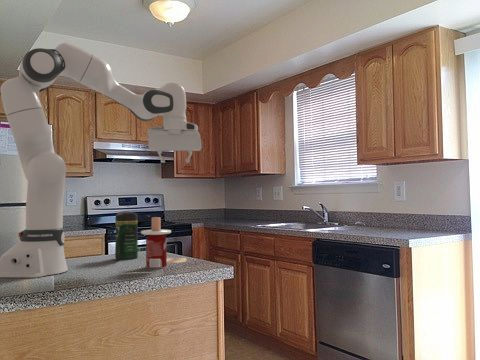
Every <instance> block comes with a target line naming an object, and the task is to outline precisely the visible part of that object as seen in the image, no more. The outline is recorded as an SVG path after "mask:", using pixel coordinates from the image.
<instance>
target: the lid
mask: <svg viewBox="0 0 480 360" xmlns="http://www.w3.org/2000/svg"><path fill="white" fill-rule="evenodd" d="M161 223H162V219H161V217H158V216H154V217H153V216H152V217H151V229H144V230H140V234H141V235H147V236H148V235H159V234H164V235H169V234H171V233H172V230H171V229H161V227H162V226H161V225H162V224H161Z"/></svg>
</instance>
